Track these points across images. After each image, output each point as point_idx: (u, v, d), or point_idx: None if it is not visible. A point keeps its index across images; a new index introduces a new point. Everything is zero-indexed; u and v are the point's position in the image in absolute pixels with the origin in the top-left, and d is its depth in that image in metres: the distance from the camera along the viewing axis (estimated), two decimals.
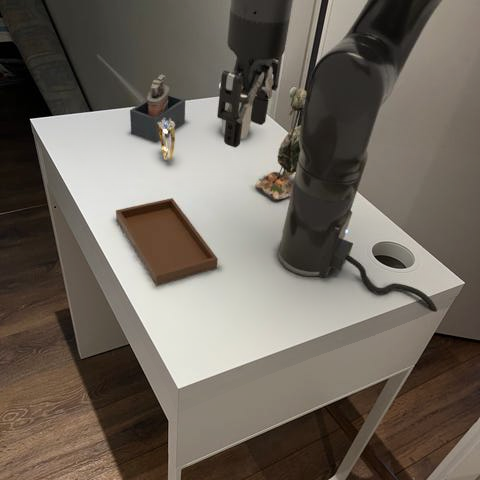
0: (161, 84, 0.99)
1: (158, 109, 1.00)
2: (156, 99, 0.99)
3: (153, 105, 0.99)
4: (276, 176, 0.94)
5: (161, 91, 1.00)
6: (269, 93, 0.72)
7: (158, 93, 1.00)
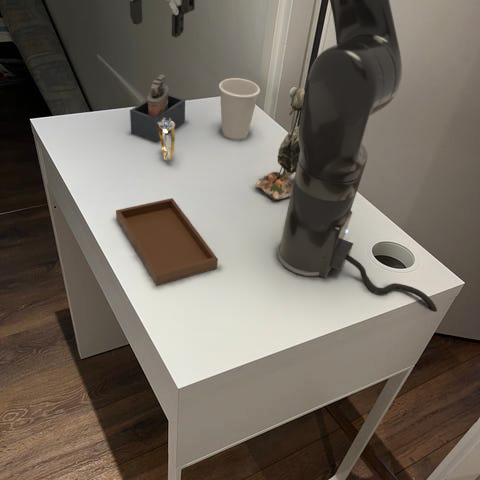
0: (161, 84, 0.99)
1: (158, 109, 1.00)
2: (156, 99, 0.99)
3: (153, 105, 0.99)
4: (276, 176, 0.94)
5: (161, 91, 1.00)
6: (173, 7, 0.87)
7: (158, 93, 1.00)
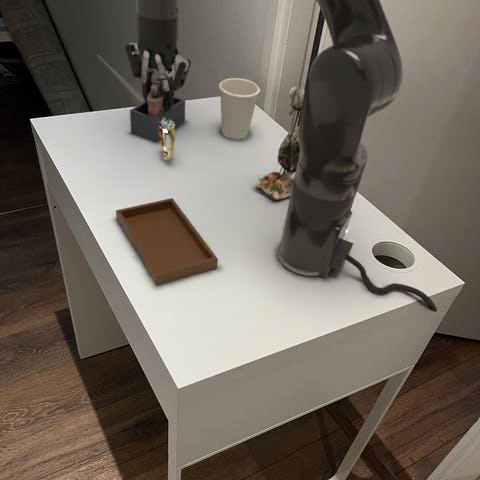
0: (161, 84, 0.99)
1: (158, 109, 1.00)
2: (156, 99, 0.99)
3: (153, 105, 0.99)
4: (276, 176, 0.94)
5: (161, 91, 1.00)
6: (164, 85, 0.98)
7: (158, 93, 1.00)
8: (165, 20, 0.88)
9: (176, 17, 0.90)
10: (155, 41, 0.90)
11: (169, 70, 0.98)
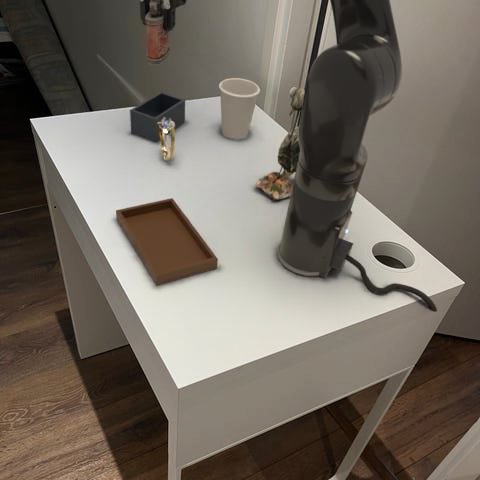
0: (161, 2, 0.89)
1: (158, 31, 0.89)
2: (155, 18, 0.88)
3: (152, 25, 0.88)
4: (276, 176, 0.94)
5: (161, 11, 0.90)
6: (164, 1, 0.87)
7: (157, 12, 0.89)
8: None
9: None
10: None
11: None
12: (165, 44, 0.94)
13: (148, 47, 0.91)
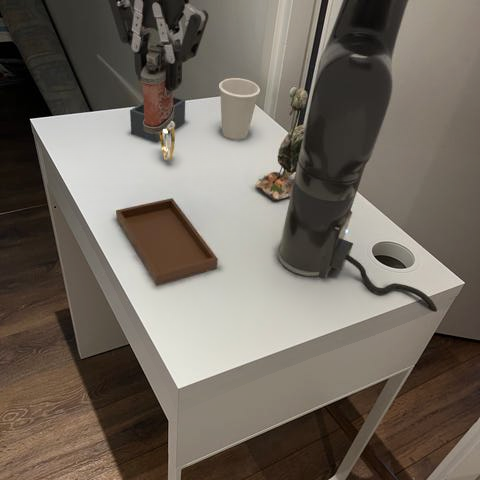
0: (162, 53, 0.65)
1: (158, 91, 0.66)
2: (154, 75, 0.65)
3: (150, 85, 0.65)
4: (276, 176, 0.94)
5: (162, 64, 0.66)
6: (166, 54, 0.64)
7: (158, 66, 0.65)
8: None
9: None
10: None
11: (175, 30, 0.64)
12: (168, 105, 0.70)
13: (145, 111, 0.68)
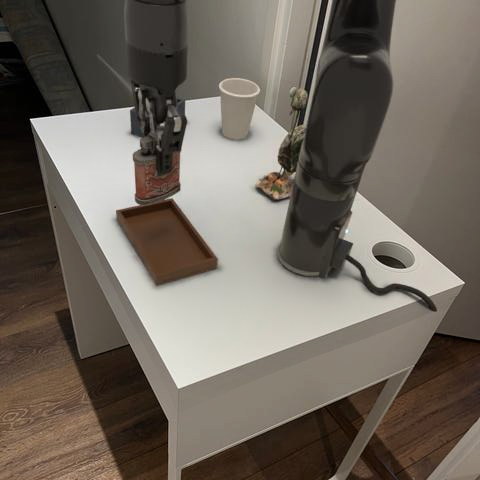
0: None
1: (144, 171, 0.71)
2: (143, 157, 0.70)
3: (137, 164, 0.70)
4: (276, 176, 0.94)
5: None
6: None
7: (151, 150, 0.70)
8: (150, 52, 0.58)
9: (174, 52, 0.59)
10: (137, 79, 0.61)
11: None
12: (163, 184, 0.74)
13: (135, 184, 0.73)
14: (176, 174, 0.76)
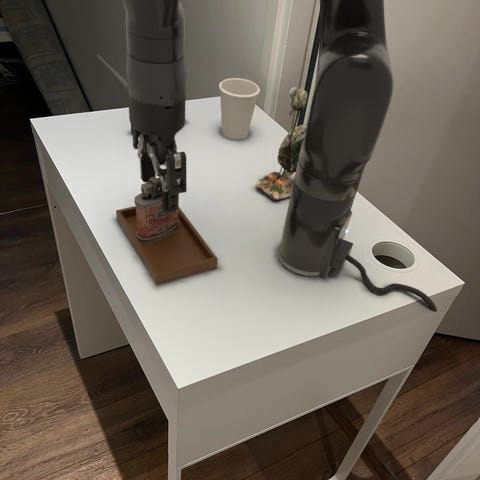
0: (159, 185, 0.75)
1: (145, 213, 0.76)
2: (144, 201, 0.75)
3: (138, 207, 0.75)
4: (276, 176, 0.94)
5: (159, 193, 0.76)
6: (162, 183, 0.71)
7: (152, 194, 0.75)
8: (151, 105, 0.63)
9: (172, 104, 0.64)
10: (139, 127, 0.66)
11: None
12: (162, 224, 0.80)
13: (137, 224, 0.79)
14: (175, 213, 0.81)
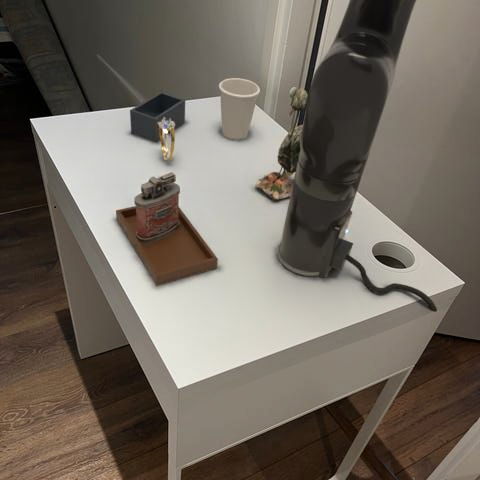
0: (159, 185, 0.75)
1: (145, 213, 0.76)
2: (144, 201, 0.75)
3: (138, 207, 0.75)
4: (276, 176, 0.94)
5: (159, 193, 0.76)
6: None
7: (152, 194, 0.75)
8: None
9: None
10: None
11: None
12: (162, 224, 0.80)
13: (137, 224, 0.79)
14: (175, 213, 0.81)
